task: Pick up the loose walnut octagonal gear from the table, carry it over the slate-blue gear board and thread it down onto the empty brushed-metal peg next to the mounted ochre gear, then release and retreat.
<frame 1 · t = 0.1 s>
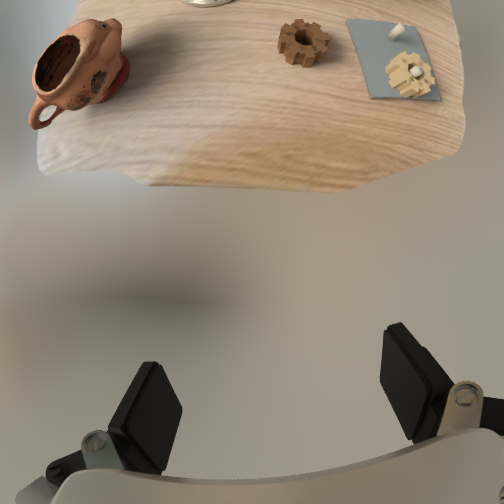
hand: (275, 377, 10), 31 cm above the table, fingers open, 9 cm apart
gear board: (394, 59, 32), on the table
decorative planter: (100, 86, 34), on the table
walnut gear: (301, 48, 32), on the table
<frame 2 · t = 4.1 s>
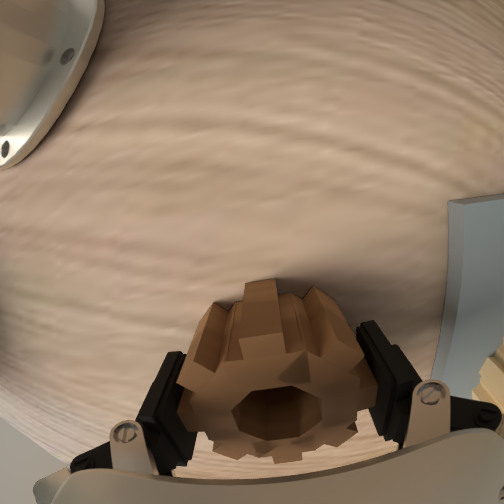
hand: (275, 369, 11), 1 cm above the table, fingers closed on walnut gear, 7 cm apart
walnut gear: (273, 351, 12), on the table, touching gripper
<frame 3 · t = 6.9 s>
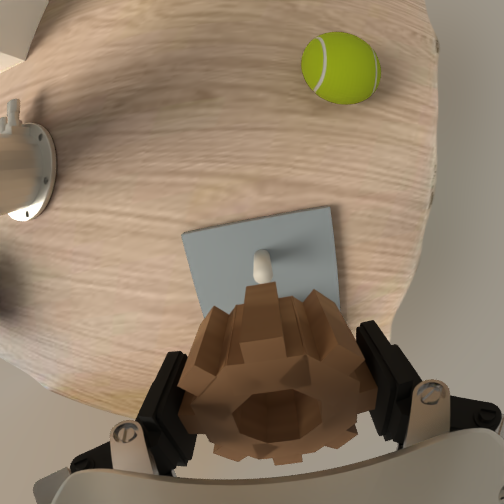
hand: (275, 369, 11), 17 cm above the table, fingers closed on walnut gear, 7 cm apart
gear board: (268, 290, 28), on the table
milk: (14, 41, 18), on the table
walnut gear: (274, 353, 12), point 16 cm above the table, touching gripper
tennis ball: (330, 80, 22), on the table
when the fingers open (4 cm above the table, at t = 9.6 s): walnut gear drops 1 cm, resting on gear board.
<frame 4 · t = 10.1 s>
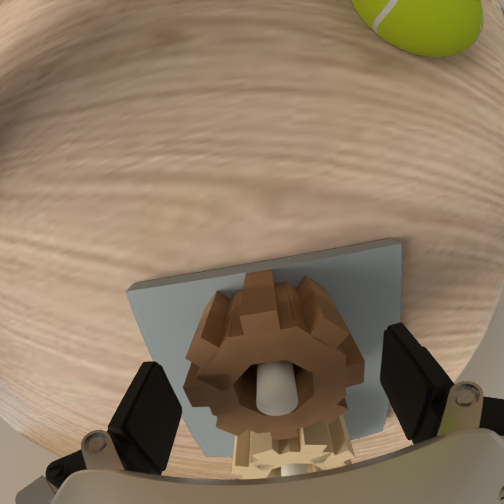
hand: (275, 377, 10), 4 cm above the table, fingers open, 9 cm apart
gear board: (281, 376, 16), on the table
walnut gear: (271, 336, 13), point 1 cm above the table, touching gear board
tennis ball: (388, 23, 10), on the table
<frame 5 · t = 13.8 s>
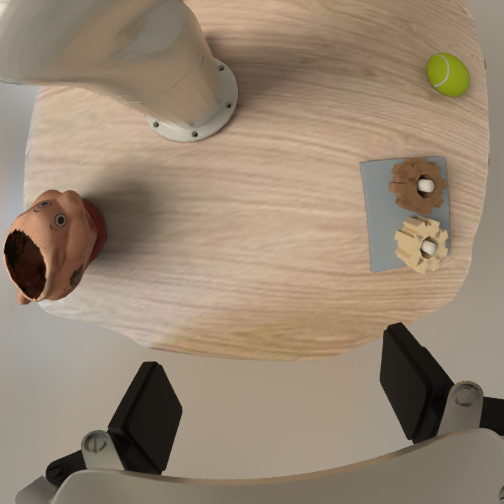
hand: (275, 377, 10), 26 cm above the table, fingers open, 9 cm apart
gear board: (409, 211, 34), on the table
decorative planter: (80, 239, 37), on the table
walnut gear: (410, 184, 32), point 1 cm above the table, touching gear board
tennis ball: (435, 80, 28), on the table
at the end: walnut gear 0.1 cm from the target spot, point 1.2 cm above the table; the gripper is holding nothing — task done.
